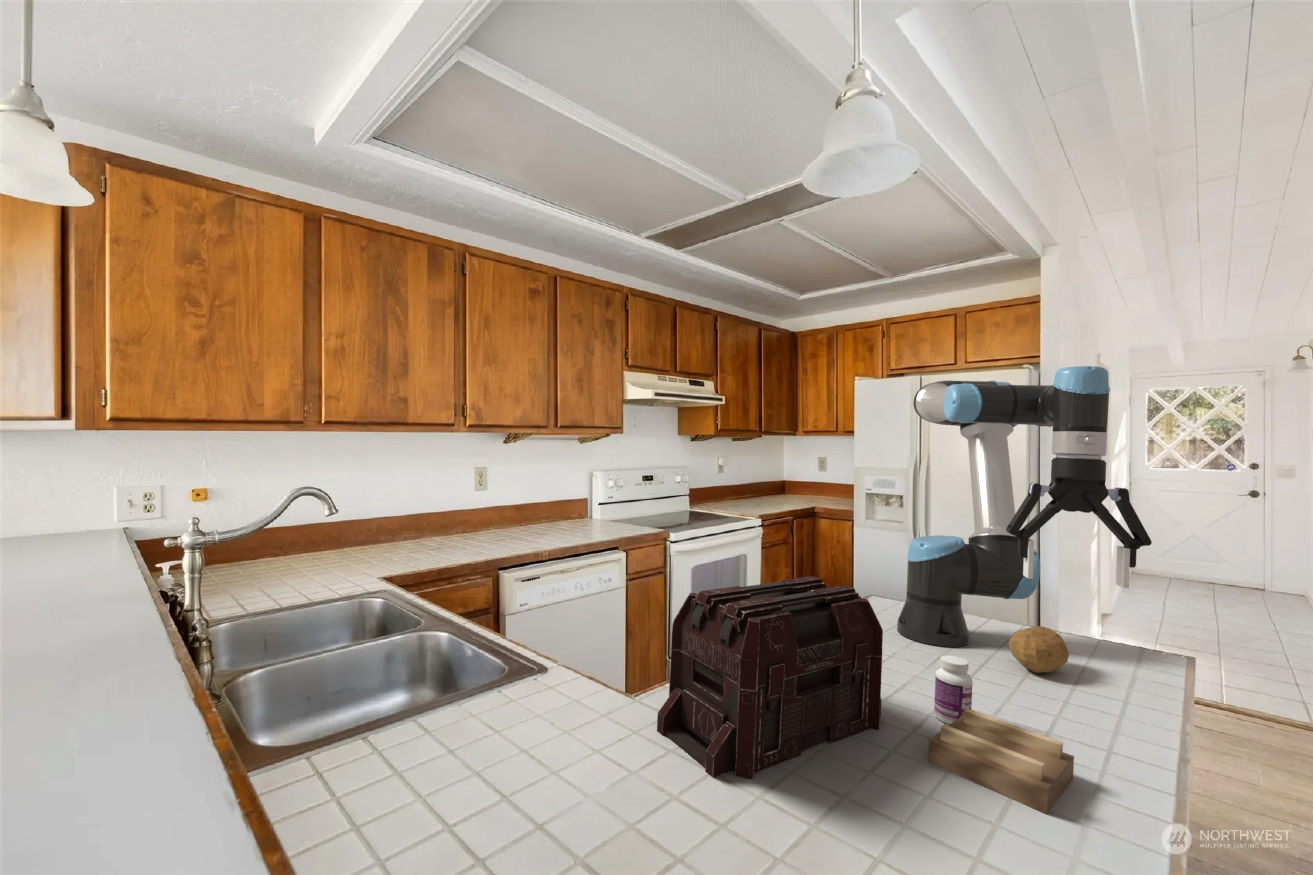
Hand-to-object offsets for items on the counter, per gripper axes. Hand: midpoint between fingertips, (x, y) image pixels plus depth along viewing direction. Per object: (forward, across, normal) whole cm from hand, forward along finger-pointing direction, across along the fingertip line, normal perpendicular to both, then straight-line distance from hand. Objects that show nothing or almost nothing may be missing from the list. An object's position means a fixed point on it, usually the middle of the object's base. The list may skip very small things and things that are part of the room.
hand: (1073, 581), depth 96 cm
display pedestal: (+22, -16, -25) cm, 37 cm away
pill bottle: (+22, -20, -11) cm, 32 cm away
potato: (+22, +1, +19) cm, 30 cm away
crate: (+23, -47, -24) cm, 57 cm away
